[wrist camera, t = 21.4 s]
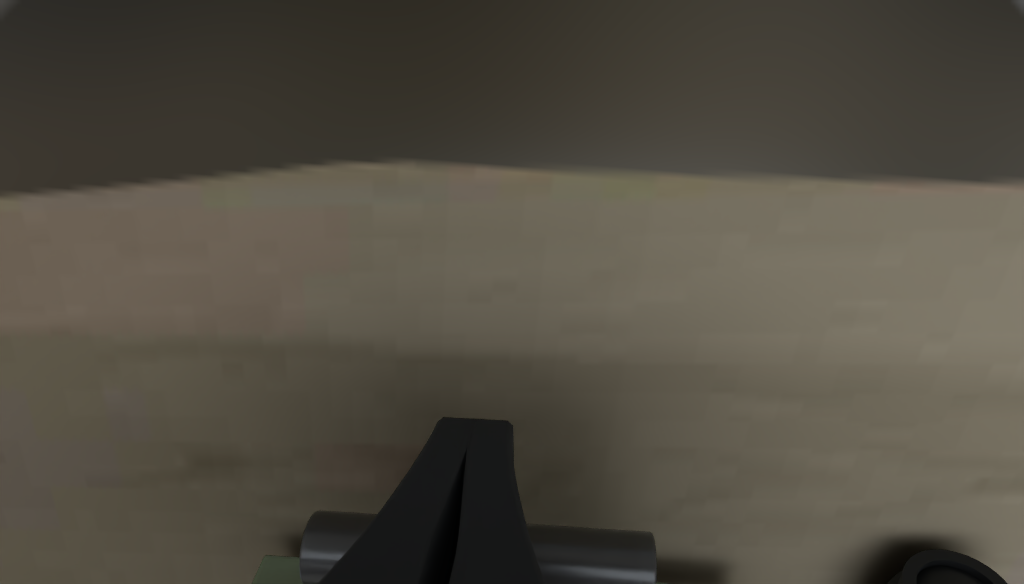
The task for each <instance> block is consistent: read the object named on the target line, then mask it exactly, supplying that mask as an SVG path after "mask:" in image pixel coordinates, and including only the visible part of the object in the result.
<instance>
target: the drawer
mask: <svg viewBox="0 0 1024 584" xmlns="http://www.w3.org/2000/svg"><path fill="white" fill-rule="evenodd" d="M376 515H377V514H367V513H352V512H336V511H321V510H319V511H316V512H314V513H313V514H312V516H311V517H310V519H309V521H308V523H307V526H306V528H305V531H304V534H303V538H302V543H301V548H300V557H286V556H272V555H266V556H264V558H263V560H262V562H261V564H260V567H259V569H258V571H257V573H256V575H255V578H254V580H253V582H252V584H317V583H318V582H319V581H320V580H321V579H322V578H323V577H324V576H325V575H326V574H327V573H328V572H329V571H330V570H331V568H332V567H333V566H334V565H335V564H336V563H337V562H338V561H339V560H340V559H341V558H342V556H343V555H344V554H345V553H346V552H347V551H348V550H349V548H350V547H351V546H352V545H353V544H354V543H355V542H356V540H357V539H358V538H359V537H360V536H361V534H362V533H363V532H364V530H365V529H366V528H367V527H368V525H369V524H370V523H371V522H372V520H373V519H374V518H375V517H376ZM526 526H527V529H528V533H529V536H530V539H531V543H532V546H533V549H534V552H535V555H536V558H537V561H538V564H539V567H540V570H541V573H542V576H543V578H544V581H545V584H671V583H657V559H656V547H655V540H654V536H653V534H652V533H651V532H645V531H629V530H614V529H598V528H583V527H568V526H552V525H537V524H526Z"/></svg>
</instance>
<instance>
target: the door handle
mask: <svg viewBox="0 0 1024 584" xmlns="http://www.w3.org/2000/svg"><path fill="white" fill-rule="evenodd" d="M887 584H1007V583H1006V581H1005V580H1004V579H1003V578H1002V577H1000V576H999V575H998V574H997V573H996V572H995V571H993V570H992V569H991V568H989V567H988V566H986V565H984V564H983V563H981V562H979V561H977V560H975V559H973V558H971V557H969V556H966V555H963V554H961V553H957V552H953V551H948V550H926V551H922V552H919V553H917V554H915V555H913V556H912V557H911V558H910V559H909V560H908V561H907V562H906V564H905V566H904V568H903V571H901V572H899V573H898V574H896V575H895V576H894V577H893V578H892V579H891V580H890V581H889V582H888V583H887Z"/></svg>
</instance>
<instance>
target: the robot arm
mask: <svg viewBox="0 0 1024 584" xmlns="http://www.w3.org/2000/svg"><path fill="white" fill-rule="evenodd" d="M317 584H545V581H544V578H543V576H542V573H541V570H540V567H539V564H538V561H537V558H536V555H535V552H534V549H533V546H532V543H531V539H530V536H529V533H528V529H527V526H526V522H525V518H524V514H523V510H522V506H521V501H520V497H519V493H518V488H517V483H516V477H515V470H514V444H513V425H512V424H511V423H510V422H508V421H503V420H484V419H465V418H446V417H443V418H442V419H441V420H439V421H438V423H437V425H436V426H435V428H434V430H433V432H432V434H431V436H430V437H429V439H428V441H427V443H426V444H425V446H424V448H423V449H422V451H421V453H420V454H419V456H418V457H417V459H416V460H415V462H414V463H413V465H412V467H411V468H410V470H409V471H408V473H407V474H406V476H405V477H404V478H403V480H402V481H401V483H400V484H399V486H398V487H397V488H396V490H395V491H394V493H393V494H392V495H391V497H390V498H389V500H388V501H387V502H386V504H385V505H384V506H383V508H382V509H381V510H380V512H379V513H378V514H377V515H376V517H375V518H374V519H373V520H372V522H371V523H370V524H369V525H368V527H367V528H366V529H365V530H364V532H363V533H362V534H361V536H360V537H359V538H358V539H357V540H356V542H355V543H354V544H353V545H352V546H351V547H350V548H349V550H348V551H347V552H346V553H345V554H344V555H343V556H342V558H341V559H340V560H339V561H338V562H337V563H336V564H335V565H334V566H333V567H332V568H331V570H330V571H329V572H328V573H327V574H326V575H325V576H324V577H323V578H322V579H321V580H320V581H319V582H318V583H317Z"/></svg>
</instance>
